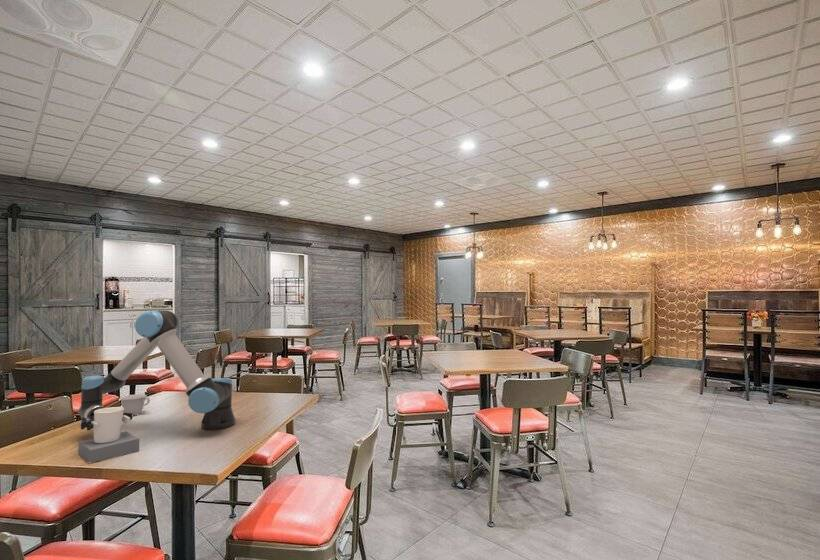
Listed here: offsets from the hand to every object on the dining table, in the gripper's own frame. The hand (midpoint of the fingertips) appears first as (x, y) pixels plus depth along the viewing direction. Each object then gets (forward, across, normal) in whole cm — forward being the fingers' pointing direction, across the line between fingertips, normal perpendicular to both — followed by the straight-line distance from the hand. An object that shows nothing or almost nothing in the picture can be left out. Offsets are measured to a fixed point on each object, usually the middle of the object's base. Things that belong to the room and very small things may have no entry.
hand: (113, 424), depth 157 cm
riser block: (-4, 0, -12) cm, 13 cm away
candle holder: (-5, +1, -7) cm, 8 cm away
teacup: (-62, -26, -12) cm, 68 cm away
